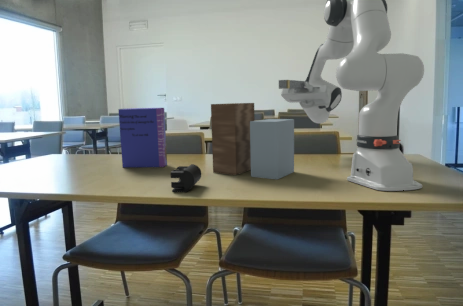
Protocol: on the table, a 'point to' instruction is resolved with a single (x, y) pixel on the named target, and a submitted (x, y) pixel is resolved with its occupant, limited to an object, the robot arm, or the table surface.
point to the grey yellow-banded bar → (291, 84)
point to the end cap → (185, 177)
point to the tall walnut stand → (231, 137)
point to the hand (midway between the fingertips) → (299, 83)
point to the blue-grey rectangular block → (272, 148)
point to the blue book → (143, 137)
